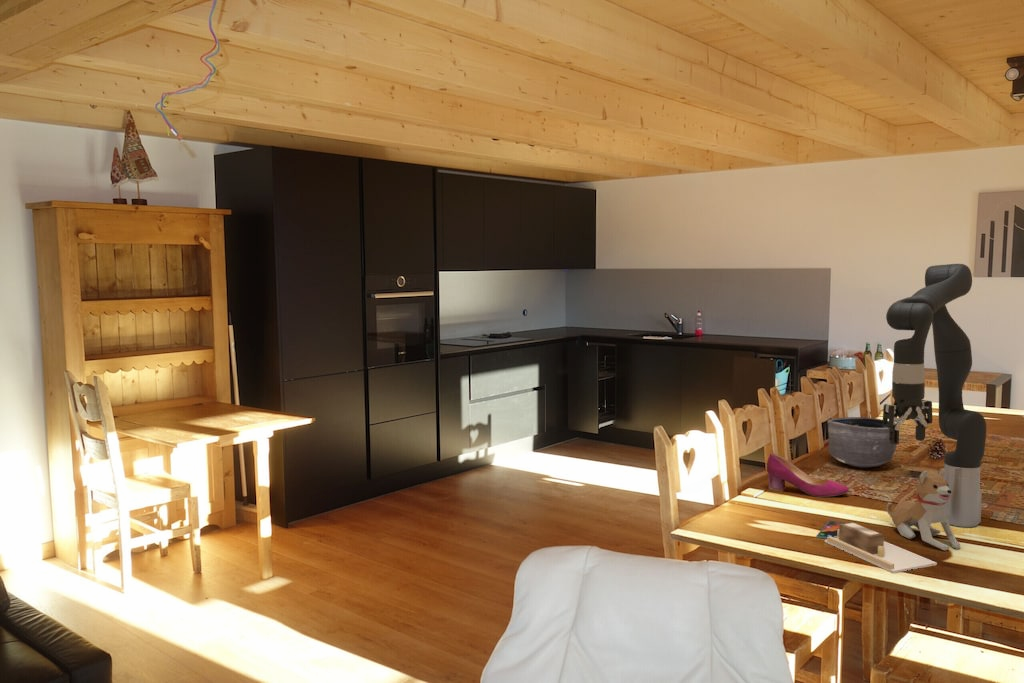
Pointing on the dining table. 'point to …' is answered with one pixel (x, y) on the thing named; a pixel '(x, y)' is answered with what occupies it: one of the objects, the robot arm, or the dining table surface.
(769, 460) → the high heel
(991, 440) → the dining table surface
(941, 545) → the toy
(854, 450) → the tea bowl
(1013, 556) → the dining table surface
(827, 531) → the smartphone
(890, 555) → the wall board
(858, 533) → the brown rectangular block
